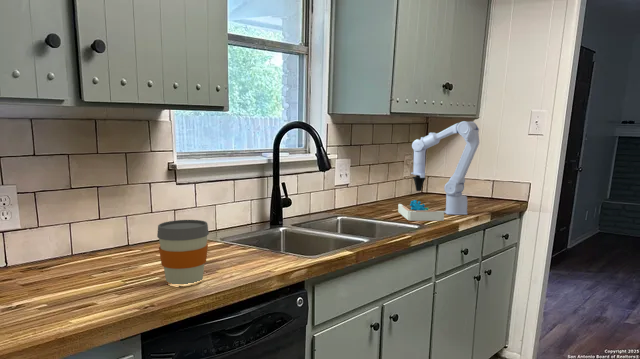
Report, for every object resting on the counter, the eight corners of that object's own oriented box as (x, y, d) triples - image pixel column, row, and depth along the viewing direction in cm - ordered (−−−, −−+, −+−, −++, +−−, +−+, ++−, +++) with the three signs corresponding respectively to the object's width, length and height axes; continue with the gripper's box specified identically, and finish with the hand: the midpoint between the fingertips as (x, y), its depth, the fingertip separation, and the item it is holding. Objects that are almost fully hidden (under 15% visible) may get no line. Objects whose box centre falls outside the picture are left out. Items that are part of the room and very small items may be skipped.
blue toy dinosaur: (417, 215, 202) (408, 198, 208) (409, 223, 206) (400, 206, 212) (434, 216, 208) (425, 199, 214) (427, 224, 212) (418, 207, 218)
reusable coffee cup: (191, 271, 126) (190, 217, 125) (219, 280, 118) (218, 223, 117) (149, 282, 117) (147, 224, 115) (176, 293, 109) (175, 231, 107)
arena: (430, 211, 223) (430, 203, 222) (443, 220, 200) (444, 210, 200) (398, 211, 222) (398, 203, 222) (408, 220, 200) (408, 211, 199)
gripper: (408, 162, 234) (407, 189, 236) (414, 164, 220) (414, 192, 221) (421, 162, 235) (421, 189, 236) (429, 164, 220) (428, 192, 222)
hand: (418, 190), depth 229 cm, fingers closed
